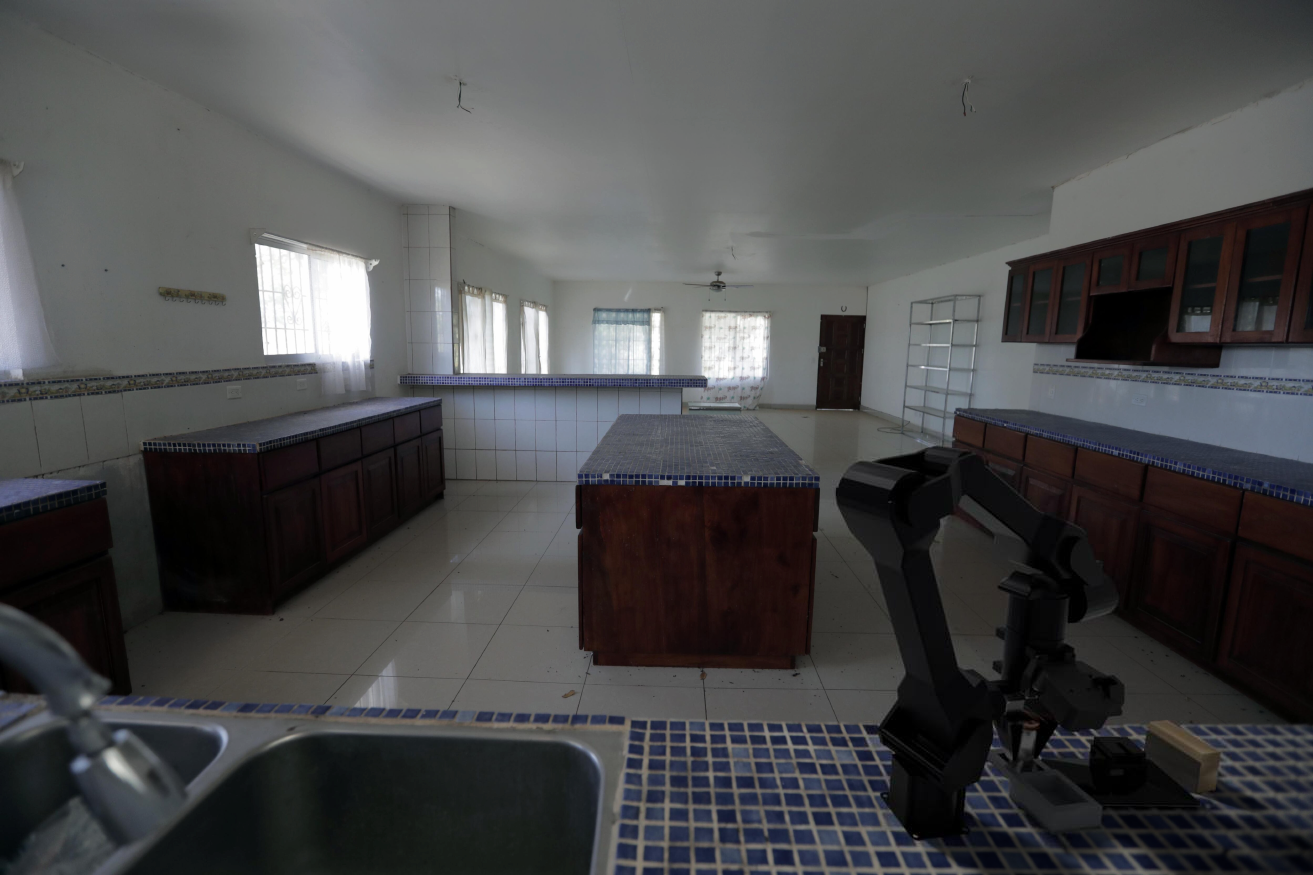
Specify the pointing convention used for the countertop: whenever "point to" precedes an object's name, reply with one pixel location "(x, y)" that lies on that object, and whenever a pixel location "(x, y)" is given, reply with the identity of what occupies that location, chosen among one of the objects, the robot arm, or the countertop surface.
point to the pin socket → (999, 761)
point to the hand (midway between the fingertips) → (1021, 757)
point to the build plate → (1121, 775)
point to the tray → (1055, 801)
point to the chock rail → (1182, 756)
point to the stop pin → (1026, 745)
